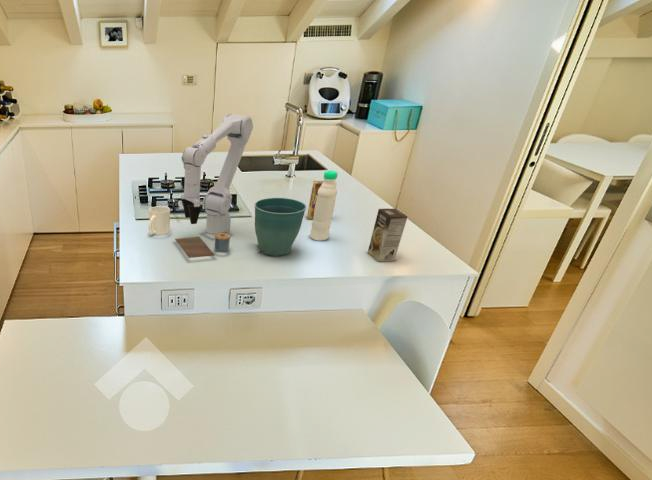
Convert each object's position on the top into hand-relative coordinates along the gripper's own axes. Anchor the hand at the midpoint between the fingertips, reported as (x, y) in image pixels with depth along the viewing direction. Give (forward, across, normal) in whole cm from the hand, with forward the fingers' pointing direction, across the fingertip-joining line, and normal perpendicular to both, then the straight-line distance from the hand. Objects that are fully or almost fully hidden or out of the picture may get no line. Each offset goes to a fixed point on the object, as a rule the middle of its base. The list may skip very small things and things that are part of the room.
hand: (190, 220), depth 192 cm
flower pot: (+10, +14, +29) cm, 34 cm away
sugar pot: (+9, +12, +9) cm, 17 cm away
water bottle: (+10, +6, +52) cm, 53 cm away
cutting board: (+9, +6, 0) cm, 11 cm away
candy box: (+10, -16, +63) cm, 66 cm away
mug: (+10, -12, -10) cm, 19 cm away
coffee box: (+10, +29, +64) cm, 71 cm away
